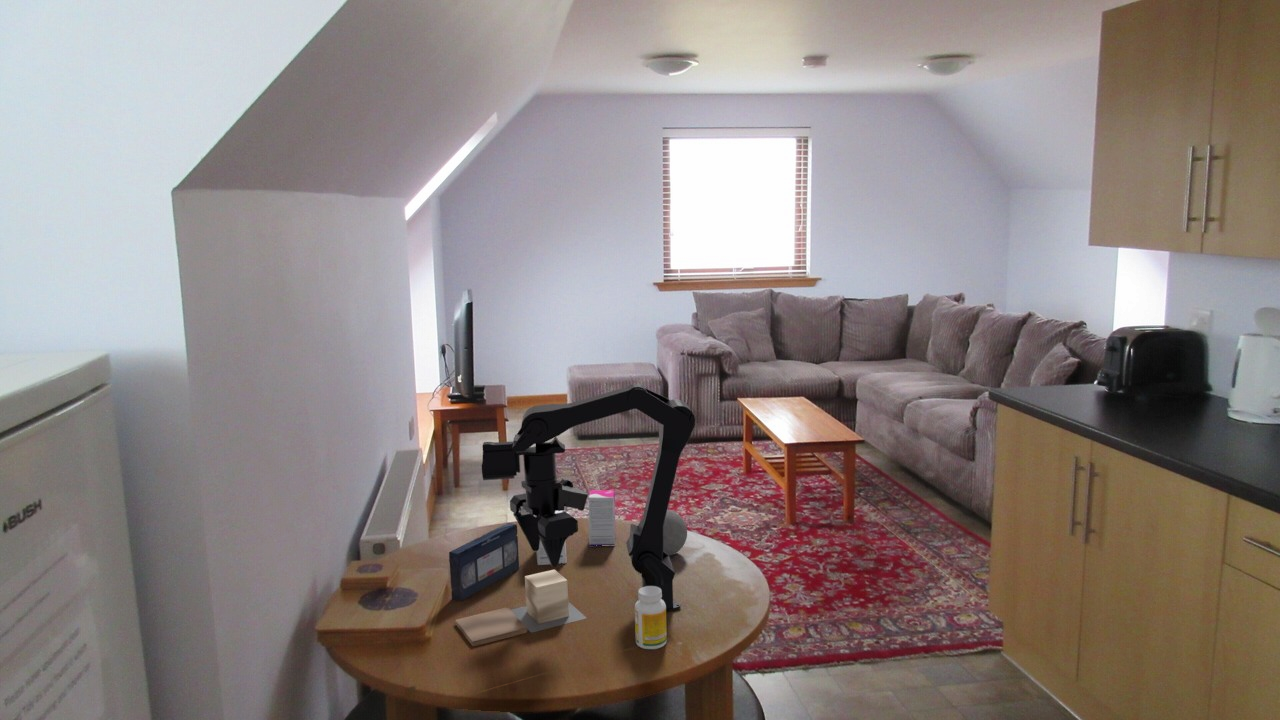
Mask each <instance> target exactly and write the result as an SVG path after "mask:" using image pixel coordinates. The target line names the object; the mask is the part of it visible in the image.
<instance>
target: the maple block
mask: <svg viewBox="0 0 1280 720" xmlns="http://www.w3.org/2000/svg"><path fill="white" fill-rule="evenodd" d="M568 586H569V585H568V580H567V579H566V578H565V577H564V576H563V575H562V574H560V573H559V572H558V571H557V570H556V569H551V570H546V571H541V572H537V573H532V574H529V575H525V576H524V588H525V606H526V609H527V613H528V614H529V615H530V616H531V617H532V618H533V619H534V620H535V621H536V622H537V623H538V624H540V623H544V622H548V621H552V620H556V619H560V618H564V617H568V616H569V607H568V602H569V590H568Z"/></svg>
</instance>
